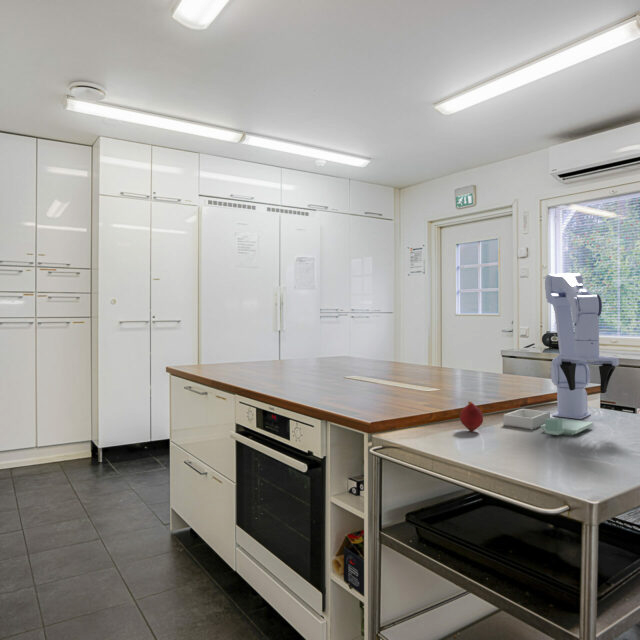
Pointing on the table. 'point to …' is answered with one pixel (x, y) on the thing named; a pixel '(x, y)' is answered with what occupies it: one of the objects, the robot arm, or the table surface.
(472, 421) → the onion
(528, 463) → the table surface
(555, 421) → the lid
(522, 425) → the tub
